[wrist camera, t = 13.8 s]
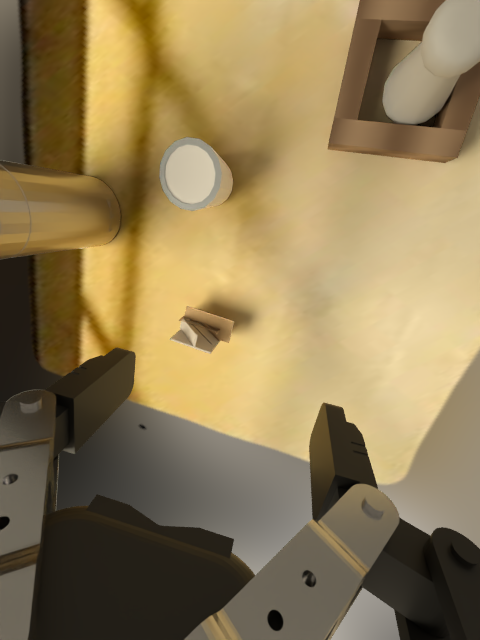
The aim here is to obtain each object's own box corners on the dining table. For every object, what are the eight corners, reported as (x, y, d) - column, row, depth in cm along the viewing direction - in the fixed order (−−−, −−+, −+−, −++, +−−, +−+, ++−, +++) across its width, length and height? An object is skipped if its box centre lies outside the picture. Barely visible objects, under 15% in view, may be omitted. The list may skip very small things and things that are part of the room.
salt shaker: (422, 47, 28) (500, -75, 16) (454, 100, 29) (550, 20, 17) (366, 97, 31) (398, 21, 19) (396, 145, 31) (446, 101, 19)
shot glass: (176, 168, 37) (147, 158, 31) (224, 139, 35) (203, 122, 29) (199, 220, 39) (176, 221, 32) (247, 196, 36) (232, 192, 30)
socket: (327, 149, 33) (328, 143, 30) (358, 8, 29) (363, -15, 26) (444, 162, 31) (457, 157, 28) (497, 13, 27) (518, -11, 24)
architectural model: (195, 299, 43) (172, 314, 36) (240, 313, 42) (225, 332, 35) (190, 320, 44) (168, 339, 37) (234, 334, 43) (219, 356, 37)
